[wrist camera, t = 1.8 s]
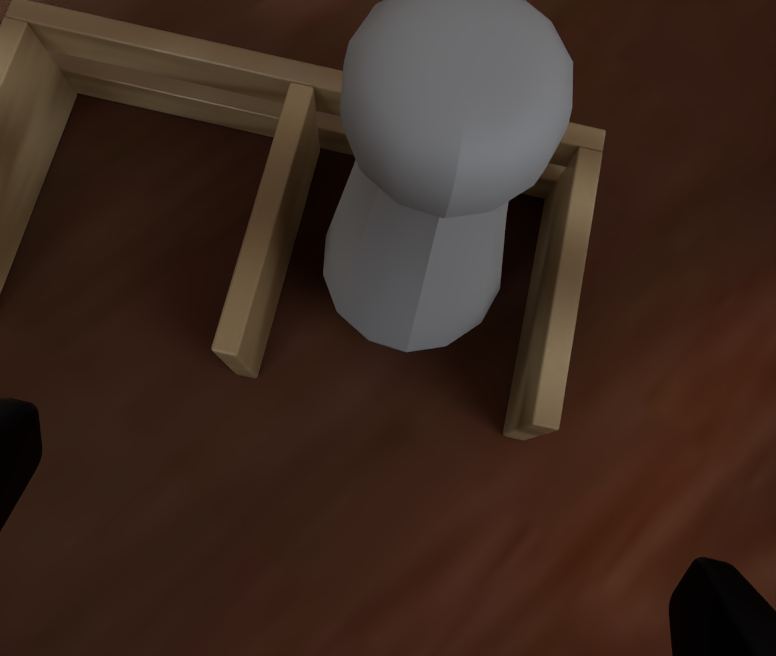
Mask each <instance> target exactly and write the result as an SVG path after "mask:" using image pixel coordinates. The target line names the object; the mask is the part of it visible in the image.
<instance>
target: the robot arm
mask: <svg viewBox="0 0 776 656" xmlns="http://www.w3.org/2000/svg"><path fill="white" fill-rule="evenodd" d="M41 456H42V441H41V432H40V422H39V414H38V409H37V408H36V406H35V405H34V404H32V403H30V402H26V401H21V400H17V399H13V398H0V531H1V529H2V528H3V526H4V524H5V523H6V521H7V519H8V517H9V516H10V514H11V512H12V510H13V509H14V507H15V505H16V503H17V502H18V500H19V498H20V497H21V495H22V493H23V491H24V490H25V488H26V486H27V484H28V483H29V481H30V479H31V477H32V476H33V474H34V472H35V471H36V469H37V467H38V465H39V462H40V460H41ZM669 621H670V632H671V643H672V655H673V656H776V611H775V610H774V609H773V608H772V607H771V606H770V605H769V603H768V602H767V601H766V600H765V599H764V598H763V597H762V596H761V595H760V594H759V593H758V592H757V591H756V590H755V588H754V587H753V586H752V585H751V584H750V583H749V582H748V581H747V580H746V579H745V578H744V577H743V576H742V575H741V573H740V572H739V571H738V570H737V569H736V568H735V567H734V566H732V565H731V564H729V563H727V562H723V561H719V560H715V559H710V558H706V557H699V558H697V559H695V560H694V561H693V562H692V564H691V565H690V567H689V568H688V570H687V571H686V573H685V574H684V576H683V578H682V579H681V581H680V582H679V584H678V585H677V587H676V589H675V590H674V592H673V594H672V596H671V599H670V603H669Z"/></svg>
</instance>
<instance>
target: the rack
mask: <svg viewBox="0 0 776 656" xmlns="http://www.w3.org/2000/svg"><path fill="white" fill-rule="evenodd" d="M342 77H343V71H341V70H336V69H332V68H327V67H323V66H318V65H314V64H310V63H305V62H301V61H296V60H292V59H287V58H283V57H278V56H274V55H270V54H265V53H261V52H256V51H252V50H247V49H243V48H239V47H234V46H230V45H225V44H221V43H216V42H212V41H207V40H203V39H199V38H194V37H190V36H185V35H181V34H176V33H172V32H167V31H163V30H159V29H154V28H150V27H145V26H141V25H136V24H132V23H127V22H123V21H119V20H114V19H110V18H105V17H101V16H96V15H92V14H87V13H83V12H79V11H74V10H70V9H65V8H61V7H56V6H52V5H47V4H43V3H39V2H34V1H30V0H12V1H11V3H10V5H9V8H8V10H7V12H6V17H4V18H3V21H2V23H1V25H0V294H1V291H2V289H3V286H4V283H5V281H6V278H7V276H8V273H9V270H10V268H11V265H12V263H13V260H14V258H15V255H16V252H17V250H18V247H19V245H20V242H21V239H22V237H23V234H24V232H25V229H26V227H27V224H28V221H29V219H30V216H31V214H32V211H33V208H34V206H35V203H36V201H37V198H38V195H39V193H40V190H41V188H42V185H43V183H44V180H45V177H46V175H47V172H48V170H49V167H50V164H51V162H52V159H53V157H54V154H55V152H56V149H57V146H58V144H59V141H60V139H61V136H62V133H63V131H64V128H65V126H66V123H67V121H68V118H69V115H70V113H71V110H72V108H73V105H74V102H75V100H76V97H77V93H79V94H84V95H88V96H92V97H97V98H101V99H106V100H110V101H115V102H119V103H123V104H128V105H132V106H137V107H141V108H146V109H150V110H154V111H159V112H163V113H168V114H172V115H176V116H181V117H185V118H190V119H194V120H199V121H203V122H207V123H212V124H216V125H221V126H225V127H229V128H234V129H238V130H243V131H247V132H252V133H256V134H260V135H265V136H269V137H274V139H273V142H272V145H271V149H270V152H269V155H268V159H267V162H266V166H265V169H264V172H263V176H262V179H261V182H260V186H259V189H258V192H257V196H256V199H255V203H254V206H253V209H252V213H251V216H250V219H249V223H248V226H247V229H246V233H245V236H244V240H243V243H242V246H241V250H240V253H239V256H238V260H237V263H236V266H235V270H234V273H233V277H232V280H231V283H230V287H229V290H228V293H227V297H226V300H225V303H224V307H223V310H222V313H221V317H220V320H219V324H218V327H217V330H216V334H215V337H214V340H213V344H212V347H211V349H212V351H213V352H214V353H215V354H216V355H217V356H218V357H219V358H220V359H221V360H222V361H223V362H224V363H225V364H226V365H227V366H228V367H229V368H230V369H231V370H232V371H233V372H234V373H235V374H237V375H241V376H245V377H250V378H257V377H258V373H259V370H260V366H261V363H262V359H263V355H264V352H265V348H266V345H267V341H268V337H269V334H270V330H271V326H272V323H273V319H274V316H275V312H276V308H277V305H278V301H279V298H280V294H281V290H282V287H283V283H284V279H285V276H286V272H287V269H288V265H289V261H290V258H291V254H292V250H293V247H294V243H295V240H296V236H297V232H298V229H299V225H300V222H301V218H302V214H303V211H304V207H305V203H306V200H307V196H308V193H309V189H310V185H311V182H312V178H313V175H314V171H315V167H316V164H317V160H318V156H319V153H320V148H322V149H327V150H331V151H336V152H340V153H344V154H349V155H353V156H354V154H353V152H352V149H351V147H350V144H349V142H348V139H347V137H346V134H345V132H344V129H343V126H342V120H341V114H340V100H341V89H342ZM605 134H606V132H605V130H603V129H598V128H594V127H589V126H585V125H581V124H576V123H572V122H569V123H568V127H567V130H566V132H565V134H564V136H563V137H562V139H561V141H560V143H559V145H558V147H557V148H556V150H555V152H554V154H553V156H552V157H551V159H550V161H549V163H548V165H547V167H546V168H545V170H544V172H543V173H542V175H541V176H540V177H539V179H538V180H537V182H536V183H535V185H533V186H532V187H530V188H529V189H527V190H525V191H524V192H522V193H521V194H526V195H530V196H534V197H539V198H543V199H545V201H544V206H543V212H542V218H541V223H540V229H539V234H538V240H537V246H536V251H535V257H534V262H533V268H532V273H531V279H530V285H529V290H528V296H527V301H526V307H525V313H524V318H523V324H522V329H521V335H520V341H519V346H518V352H517V357H516V363H515V368H514V374H513V380H512V385H511V391H510V396H509V402H508V408H507V413H506V419H505V424H504V430H503V435H504V436H506V437H510V438H515V439H519V440H527V439H530V438H534V437H537V436H540V435H543V434H546V433H550V432H553V431H556V430H558V429H559V426H560V420H561V413H562V407H563V401H564V394H565V388H566V382H567V375H568V369H569V363H570V356H571V350H572V344H573V337H574V331H575V325H576V319H577V312H578V306H579V300H580V293H581V287H582V281H583V274H584V268H585V262H586V255H587V249H588V243H589V236H590V230H591V224H592V218H593V211H594V205H595V199H596V192H597V186H598V180H599V173H600V167H601V161H602V151H603V147H604V141H605Z"/></svg>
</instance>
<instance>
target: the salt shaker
mask: <svg viewBox="0 0 776 656" xmlns="http://www.w3.org/2000/svg"><path fill="white" fill-rule="evenodd" d="M572 93H573V61H572V59H571V58H570V56H569V54H568V52H567V50H566V48H565V46H564V44H563V43H562V41H561V39H560V37H559V35H558V33H557V31H556V29H555V28H554V26H553V24H552V22H551V21H550V20H549V19H548V18H547V17H545V16H544V15H543V14H542V13H540V12H539V11H538V10H537V9H535V8H534V7H533V6H532V5H530V4H529V3H528V2H527V1H525V0H383V1H381V2H379V3H378V4H376V5H375V6H374V8H373V9H372V10H371V12H370V13H369V15H368V16H367V17H366V19H365V20H364V22H363V23H362V24H361V26H360V27H359V29H358V30H357V31H356V33H355V34H354V36H353V37H352V38H351V40H350V41H349V44H348V48H347V52H346V56H345V60H344V66H343V77H342V89H341V100H340V114H341V120H342V126H343V129H344V132H345V134H346V137H347V139H348V142H349V144H350V147H351V149H352V152H353V154H354V157H355V159H356V161H355V163H354V166H353V168H352V171H351V173H350V176H349V178H348V181H347V184H346V186H345V189H344V191H343V194H342V196H341V199H340V201H339V204H338V206H337V209H336V212H335V214H334V217H333V219H332V222H331V224H330V227H329V229H328V232H327V235H326V242H325V255H324V267H323V276H324V278H325V281H326V284H327V287H328V289H329V292H330V295H331V297H332V300H333V303H334V306H335V308H336V311H337V312H338V313H339V314H340V315H341V316H342V317H343V318H344V319H345V320H346V321H347V322H349V323H350V324H351V325H352V326H353V327H354V328H355V329H356V330H358V331H359V332H360V333H361V334H362V335H363V336H364V337H365V338H366V339H368V340H369V341H372V342H375V343H378V344H381V345H385V346H388V347H391V348H394V349H397V350H400V351H404V352H411V351H418V350H425V349H432V348H439V347H445V346H447V345H449V344H450V343H452V342H453V341H455V340H456V339H458V338H459V337H461V336H462V335H464V334H465V333H467V332H468V331H470V330H471V329H473V328H474V327H476V326H477V325H479V324H480V323H481V322H482V320H483V319H484V317H485V315H486V313H487V311H488V309H489V308H490V306H491V304H492V302H493V300H494V299H495V297H496V295H497V293H498V291H499V290H500V282H501V271H502V259H503V248H504V237H505V226H506V216H507V209H508V202H509V200H511V199H513V198H514V197H516V196H517V195H519V194H521V193H522V192H524V191H525V190H527V189H529V188H530V187H532V186H533V185H535V183H536V182H537V180H538V179H539V177H540V176H541V175H542V173H543V172H544V170H545V168H546V167H547V165H548V163H549V161H550V159H551V157H552V156H553V154H554V152H555V150H556V148H557V147H558V145H559V143H560V141H561V139H562V137H563V136H564V134H565V132H566V130H567V127H568V123H569V119H570V115H571V111H572Z"/></svg>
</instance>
